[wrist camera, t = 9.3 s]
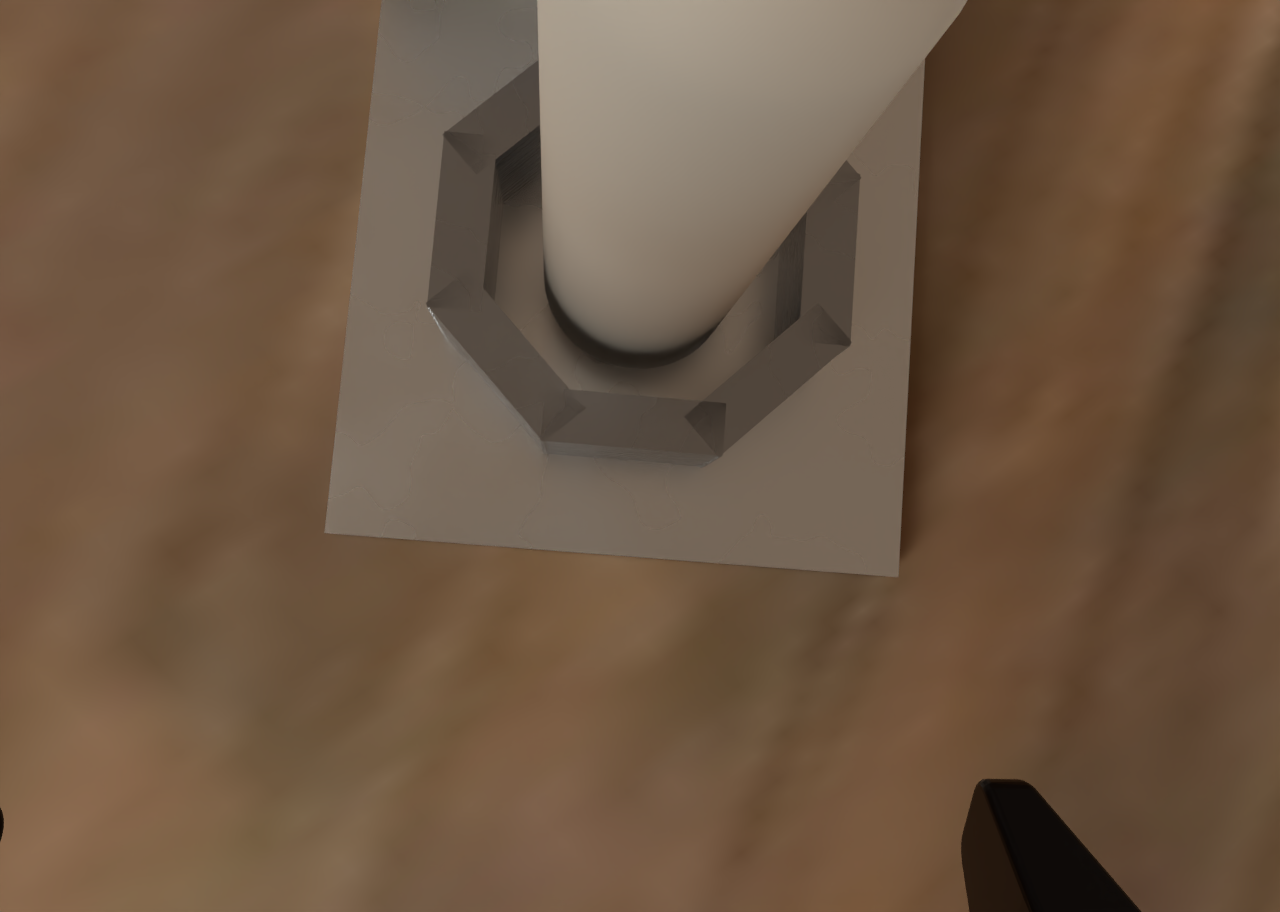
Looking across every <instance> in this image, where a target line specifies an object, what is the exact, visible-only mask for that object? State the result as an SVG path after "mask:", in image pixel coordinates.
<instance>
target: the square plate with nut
mask: <svg viewBox="0 0 1280 912" xmlns="http://www.w3.org/2000/svg"><path fill="white" fill-rule="evenodd" d="M924 70H925V59H924V60H923V61H922V63H921V64H920V65H919V67H918V68H917V69H916V70H915V72H914V73H913V74H912V76H911V77H910V78H909V79H908V81H907V82H906V83H905V85H904V86H903V87H902V89H901V90H900V91H899V92H898V94H897V95H896V96H895V98H894V99H893V100H892V101H891V103H890V104H889V105H888V107H887V108H886V109H885V111H884V112H883V113H882V114H881V116H880V117H879V118H878V120H877V121H876V122H875V123H874V125H873V126H872V127H871V129H870V130H869V131H868V133H867V134H866V135H865V136H864V138H863V139H862V140H861V142H860V143H859V144H858V145H857V147H856V148H855V149H854V151H853V152H852V153H851V154H850V156H849V157H848V158H847V160H846V161H845V162H844V164H843V165H842V166H841V167H840V169H839V170H838V171H837V173H836V174H835V175H834V176H833V178H832V179H831V180H830V182H829V183H828V184H827V186H826V187H825V188H824V189H823V191H822V192H821V193H820V195H819V196H818V197H817V198H816V200H815V201H814V202H813V204H812V205H811V206H810V208H809V209H808V210H807V211H806V213H805V214H804V215H803V217H802V218H801V219H800V220H799V222H798V223H797V224H796V226H795V227H794V228H793V229H792V231H791V232H790V233H789V235H788V236H787V237H786V239H785V240H784V241H783V242H782V244H781V245H780V246H779V248H778V249H777V250H776V251H775V253H774V254H773V255H772V257H771V258H770V259H769V261H768V262H767V263H766V264H765V266H764V267H763V268H762V270H761V271H760V272H759V273H758V275H757V276H756V277H755V279H754V280H753V281H752V283H751V284H750V285H749V286H748V288H747V289H746V290H745V292H744V293H743V294H742V295H741V297H740V298H739V299H738V301H737V302H736V303H735V304H734V306H733V307H732V308H731V310H730V311H729V312H728V314H727V315H726V316H725V317H724V319H723V320H722V321H721V323H720V324H719V325H718V326H717V328H716V329H715V330H714V332H713V333H712V334H711V335H710V337H709V338H708V339H707V340H706V341H705V342H704V343H703V344H702V345H701V346H700V347H699V348H698V349H696V350H695V351H694V352H692V353H691V354H689V355H688V356H686V357H684V358H682V359H680V360H679V361H676V362H674V363H671V364H668V365H665V366H661V367H656V368H649V369H629V368H623V367H617V366H614V365H610V364H607V363H605V362H602V361H600V360H598V359H596V358H594V357H592V356H590V355H589V354H587V353H586V352H584V351H583V350H581V349H580V348H579V347H578V346H576V345H575V344H574V343H573V342H572V341H571V340H570V339H569V338H568V337H567V336H566V334H565V333H564V332H563V330H562V329H561V328H560V326H559V325H558V323H557V321H556V319H555V318H554V316H553V314H552V311H551V309H550V306H549V304H548V300H547V296H546V292H545V284H544V259H543V218H542V177H541V136H540V95H539V54H538V13H537V0H382V4H381V13H380V22H379V32H378V41H377V50H376V60H375V69H374V78H373V87H372V97H371V106H370V115H369V125H368V134H367V143H366V153H365V162H364V171H363V181H362V190H361V199H360V209H359V218H358V227H357V236H356V246H355V255H354V264H353V274H352V283H351V292H350V302H349V311H348V320H347V330H346V339H345V348H344V358H343V367H342V376H341V386H340V395H339V404H338V413H337V423H336V432H335V441H334V451H333V460H332V469H331V479H330V488H329V497H328V507H327V516H326V525H325V533H332V534H345V535H358V536H371V537H384V538H397V539H410V540H423V541H436V542H449V543H462V544H474V545H487V546H500V547H513V548H526V549H539V550H552V551H565V552H578V553H591V554H604V555H617V556H630V557H643V558H656V559H669V560H682V561H695V562H708V563H721V564H734V565H747V566H760V567H773V568H786V569H799V570H812V571H825V572H838V573H851V574H864V575H877V576H889V577H898V576H899V557H900V537H901V518H902V498H903V479H904V459H905V440H906V421H907V401H908V382H909V362H910V343H911V323H912V304H913V284H914V265H915V245H916V226H917V206H918V187H919V167H920V148H921V128H922V109H923V89H924Z"/></svg>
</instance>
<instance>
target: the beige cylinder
mask: <svg viewBox="0 0 1280 912" xmlns="http://www.w3.org/2000/svg"><path fill="white" fill-rule="evenodd" d="M966 2H967V0H537V13H538V54H539V95H540V136H541V177H542V218H543V259H544V284H545V292H546V296H547V300H548V304H549V306H550V309H551V311H552V314H553V316H554V318H555V319H556V321H557V323H558V325H559V326H560V328H561V329H562V330H563V332H564V333H565V334H566V336H567V337H568V338H569V339H570V340H571V341H572V342H573V343H574V344H575V345H576V346H578V347H579V348H580V349H581V350H583V351H584V352H586V353H587V354H589V355H590V356H592V357H594V358H596V359H598V360H600V361H602V362H605V363H607V364H610V365H614V366H617V367H623V368H629V369H649V368H656V367H661V366H665V365H668V364H671V363H674V362H676V361H679V360H680V359H682V358H684V357H686V356H688V355H689V354H691V353H692V352H694V351H695V350H696V349H698V348H699V347H700V346H701V345H702V344H703V343H704V342H705V341H706V340H707V339H708V338H709V337H710V335H711V334H712V333H713V332H714V330H715V329H716V328H717V326H718V325H719V324H720V323H721V321H722V320H723V319H724V317H725V316H726V315H727V314H728V312H729V311H730V310H731V308H732V307H733V306H734V304H735V303H736V302H737V301H738V299H739V298H740V297H741V295H742V294H743V293H744V292H745V290H746V289H747V288H748V286H749V285H750V284H751V283H752V281H753V280H754V279H755V277H756V276H757V275H758V273H759V272H760V271H761V270H762V268H763V267H764V266H765V264H766V263H767V262H768V261H769V259H770V258H771V257H772V255H773V254H774V253H775V251H776V250H777V249H778V248H779V246H780V245H781V244H782V242H783V241H784V240H785V239H786V237H787V236H788V235H789V233H790V232H791V231H792V229H793V228H794V227H795V226H796V224H797V223H798V222H799V220H800V219H801V218H802V217H803V215H804V214H805V213H806V211H807V210H808V209H809V208H810V206H811V205H812V204H813V202H814V201H815V200H816V198H817V197H818V196H819V195H820V193H821V192H822V191H823V189H824V188H825V187H826V186H827V184H828V183H829V182H830V180H831V179H832V178H833V176H834V175H835V174H836V173H837V171H838V170H839V169H840V167H841V166H842V165H843V164H844V162H845V161H846V160H847V158H848V157H849V156H850V154H851V153H852V152H853V151H854V149H855V148H856V147H857V145H858V144H859V143H860V142H861V140H862V139H863V138H864V136H865V135H866V134H867V133H868V131H869V130H870V129H871V127H872V126H873V125H874V123H875V122H876V121H877V120H878V118H879V117H880V116H881V114H882V113H883V112H884V111H885V109H886V108H887V107H888V105H889V104H890V103H891V101H892V100H893V99H894V98H895V96H896V95H897V94H898V92H899V91H900V90H901V89H902V87H903V86H904V85H905V83H906V82H907V81H908V79H909V78H910V77H911V76H912V74H913V73H914V72H915V70H916V69H917V68H918V67H919V65H920V64H921V63H922V61H923V60H924V59H925V57H926V56H927V55H928V54H929V52H930V51H931V50H932V48H933V47H934V46H935V45H936V43H937V42H938V41H939V39H940V38H941V37H942V36H943V34H944V33H945V32H946V30H947V29H948V28H949V26H950V25H951V24H952V23H953V21H954V20H955V19H956V17H957V16H958V15H959V14H960V12H961V10H962V9H963V7H964V5H965V4H966Z"/></svg>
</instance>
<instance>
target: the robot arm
mask: <svg viewBox="0 0 1280 912" xmlns="http://www.w3.org/2000/svg"><path fill="white" fill-rule="evenodd" d="M3 828H4V818H3V813H2V810H1V808H0V841H1V838H2V833H3ZM961 855H962V865H963V872H964V878H965V885H966V892H967V898H968V905H969V911H970V912H1141V911H1140V910H1139V908H1138V907H1137V906H1136V905H1135V904H1134V903H1133V901H1132V900H1131V899H1130V898H1129V897H1128V896H1127V894H1126V893H1125V892H1124V891H1123V890H1122V889H1121V888H1120V886H1119V885H1118V884H1117V883H1116V882H1115V881H1114V879H1113V878H1112V877H1111V876H1110V875H1109V874H1108V872H1107V871H1106V870H1105V869H1104V868H1103V867H1102V866H1101V864H1100V863H1099V862H1098V861H1097V860H1096V859H1095V857H1094V856H1093V855H1092V854H1091V853H1090V852H1089V850H1088V849H1087V848H1086V847H1085V846H1084V845H1083V844H1082V842H1081V841H1080V840H1079V839H1078V838H1077V837H1076V835H1075V834H1074V833H1073V832H1072V831H1071V830H1070V828H1069V827H1068V826H1067V825H1066V824H1065V823H1064V821H1063V820H1062V819H1061V818H1060V817H1059V816H1058V815H1057V813H1056V812H1055V811H1054V810H1053V809H1052V808H1051V806H1050V805H1049V804H1048V803H1047V802H1046V801H1045V799H1044V798H1043V797H1042V796H1041V795H1040V794H1039V793H1038V791H1037V790H1036V789H1035V788H1034V787H1033V786H1032V785H1030V784H1029V783H1027V782H1025V781H1023V780H1018V779H983V780H981V781H980V782H979V783H978V784H977V785H976V787H975V790H974V793H973V797H972V801H971V805H970V808H969V812H968V816H967V819H966V823H965V827H964V831H963V835H962V842H961Z"/></svg>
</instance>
